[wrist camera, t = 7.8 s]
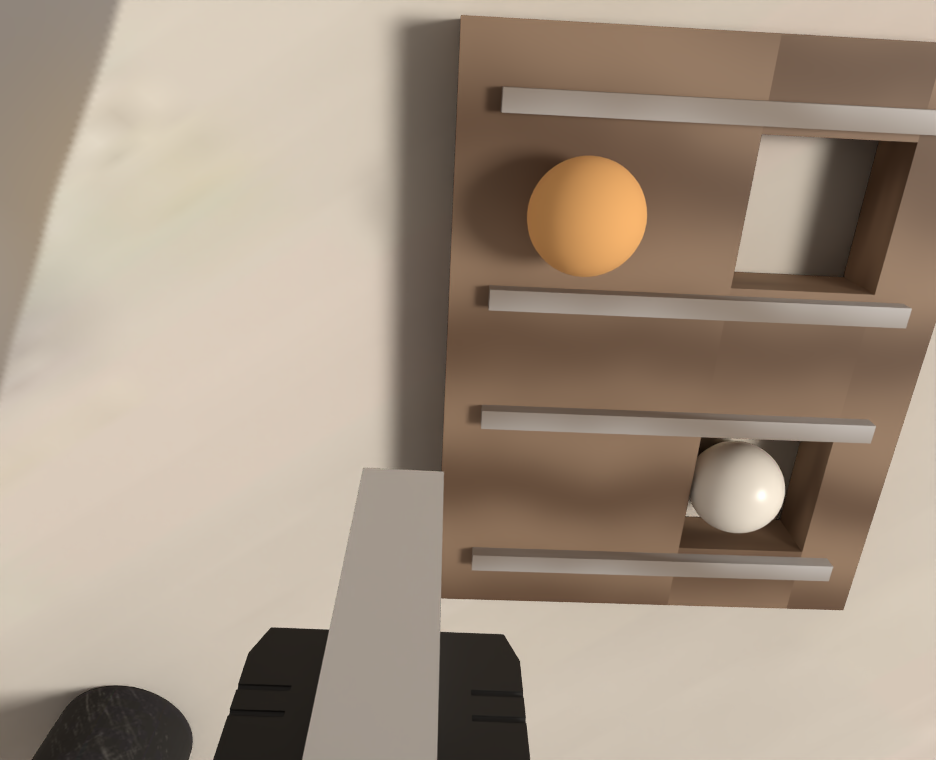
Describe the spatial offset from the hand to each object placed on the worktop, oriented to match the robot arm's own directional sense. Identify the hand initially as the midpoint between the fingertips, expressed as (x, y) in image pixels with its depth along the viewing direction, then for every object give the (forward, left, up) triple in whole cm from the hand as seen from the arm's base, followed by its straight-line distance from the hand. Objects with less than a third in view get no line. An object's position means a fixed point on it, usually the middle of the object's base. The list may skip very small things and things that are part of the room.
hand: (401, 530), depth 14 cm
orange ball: (+4, -5, -13) cm, 15 cm away
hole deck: (-2, -10, -18) cm, 21 cm away
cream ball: (-8, -14, -16) cm, 22 cm away
